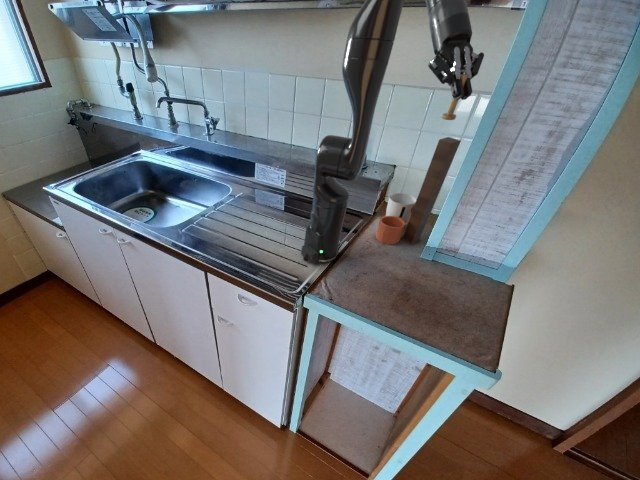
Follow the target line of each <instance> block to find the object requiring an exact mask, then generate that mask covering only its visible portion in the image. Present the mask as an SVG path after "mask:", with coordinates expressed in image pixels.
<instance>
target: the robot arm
mask: <svg viewBox="0 0 640 480" xmlns="http://www.w3.org/2000/svg"><path fill="white" fill-rule="evenodd" d="M424 1H425V5H426V10H427V15H428V25H429V26H428V28H429V32H430V38H431V43H432V46H433V47H432V48H433V54H434V55H435V56H434V57H433V58H432V59H431V60H430V61H429V62H428V64H427V67H428V69H430V71H431V72H432V73H433V75H434V76H435V77H436V78H437V79H438V80H439V83H441V84H442V85H445V84H447V86H449V87H450V92H451V96H452V98H454V100H458V101H459V100H462V101H464V100H465V101H466V100H467V99H468V98H469V97H471V95H472V94H473V86H472V82H471V80H472V79H473V78H475V77H476V76H477V75H478V74H479V71H480V69H481V66H482V63H483V60H484V57H485V54H484V52H481V51H480V53H478V54H477V53H476V52H474V48H473V46H472V44H471V41H472V36H473V28H472V24H471V18H470V15H469V9H468V4H467V1H466V0H424ZM404 3H405V0H365V2H363V4H362V5H361V7H360V9H359V10H358V12H357V13H356V15H355V17H354V18H353V20H352V22H351V24H350V27H349V29H348V33H347V37H346V41H345V47H344V52H343V57H342V63H341V75H342V80H343V83H344V87H345V90H346V93H347V97H348V100H349V103H350V108H351V113H352V132H351V137H345V136H341V135H340V136H339V135H335V134H328V135H326V136H324V137H323V138H322V139H321V141H320V143H319V145H318V148H317V150H316V151H317V152H316V155H315V156H316V157H315V164H314V177H313V187H312V193H313V194H312V195H313V196H312V197H313V198H312V204H311V211H310V216H309V217H310V218H309V224H308V225H306V227H305V236H304V243H303V245H302V246H301V251H300V252H301V253H300V255H301V256H303V257H302V258H303V261H304V262H307V263H308V262H310V263H314V264H317V263H323V264H324V263H330V262H333V261H334V260H335V259H336V258H337V255H338V251H339V250H338V249H339V246H340V240H341V235H342V232H343V227H344V222H345V217H346V214H347V213H346V212H347V208H348V204H349V199H350V192H349V190H348V189H347V188H346V187H345V186H343V185H342V184H341V183H340V182H339V181H338V180H343V181H346V182H347V181H348V182H353V181H354V180H356V179H357V178H358V176H359V175H360V173H361V171H362V168H363V166H364V162H365V158H366V154H367V149H368V146H369V140H370V135H371V131H372V126H373V121H374V116H375V111H376V109H377V104H378V100H379V96H380V93H381V89H382V86H383V82H384V79H385V76H386V72H387V68H388V65H389V61H390V59H391V55H392V51H393V47H394V43H395V40H396V35H397V31H398V27H399V23H400V19H401V15H402V12H403V11H402V10H403V7H404ZM443 73H444V74H443ZM461 74H468V77H467V79H466V82H465V85H464V87H463V84H462V79H460V78H461ZM337 179H338V180H337Z"/></svg>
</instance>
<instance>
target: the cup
mask: <svg viewBox="0 0 640 480" xmlns="http://www.w3.org/2000/svg"><path fill="white" fill-rule="evenodd" d="M416 200H417V197H415V196H413V195H412V194H409V193H405V192H396V193H392V194H390V195H389V197H388V202H387V205H386V211H385V216H396V217H399V218H401V219H403V220H404V221H405V223H408V221H409V219H410V216H411V214H412V211H413V208H414V206H415V203H416Z"/></svg>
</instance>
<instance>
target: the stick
mask: <svg viewBox="0 0 640 480" xmlns="http://www.w3.org/2000/svg"><path fill="white" fill-rule="evenodd" d="M467 77H468V74H465V73H464V74H461V78H460V79H462V84H463V87H464V85H465V82H466V79H467ZM458 102H459V100H454V98H453V97H452V98H451V101H450V104H449V106H448V109H447V112H446V113H443V114H442V115H441V119H442V120H445V121H454V120H456V118H457V114H455V110H456V108H457V105H458Z"/></svg>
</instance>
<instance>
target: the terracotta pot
mask: <svg viewBox="0 0 640 480" xmlns="http://www.w3.org/2000/svg"><path fill="white" fill-rule="evenodd" d="M406 223H407V222H406ZM406 223H405V221H404V220H403V219H401V218H399V217H396V216H386V215H384V216H382V217H380V219H379V221H378V225H377V228H376V232H375V239H376V240H377V241H378V242H379V243H382V244H385V245H396V244H397V243H399V241H400V240H401V239H402V237H403V234H404V231H405V228H406V226H407V224H406Z"/></svg>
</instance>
